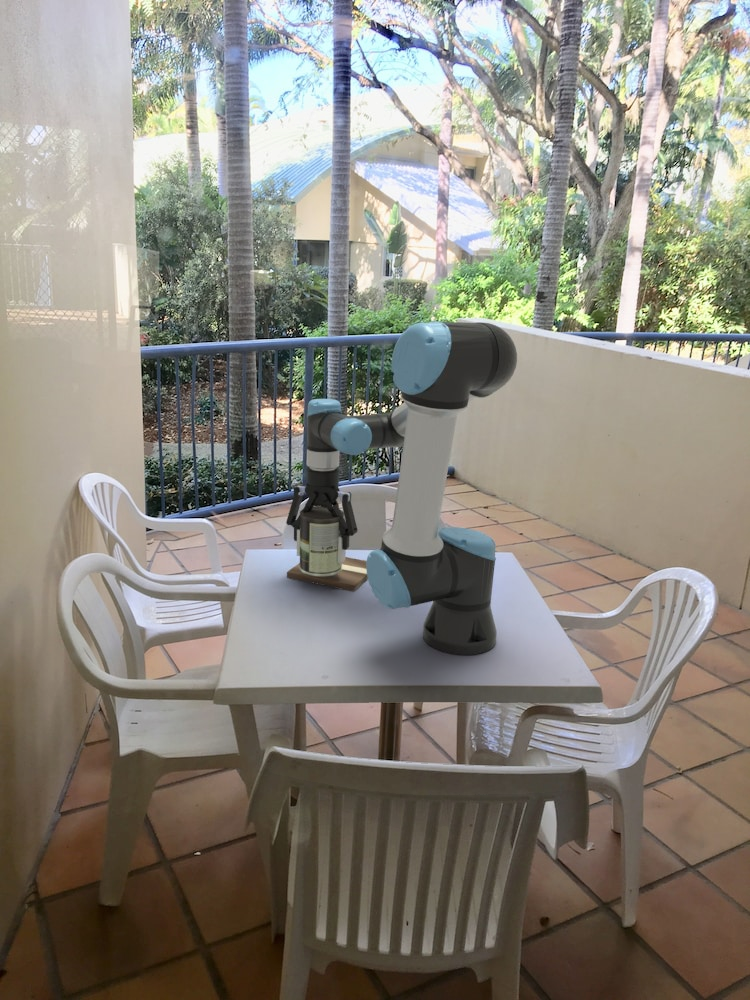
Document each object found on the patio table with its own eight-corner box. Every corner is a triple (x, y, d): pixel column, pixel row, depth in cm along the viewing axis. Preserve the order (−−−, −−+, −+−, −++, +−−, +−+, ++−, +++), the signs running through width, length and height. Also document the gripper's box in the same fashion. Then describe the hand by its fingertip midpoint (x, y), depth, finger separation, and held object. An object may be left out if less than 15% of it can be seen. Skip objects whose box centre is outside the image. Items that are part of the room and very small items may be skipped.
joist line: (366, 574, 181) (366, 573, 181) (301, 561, 188) (301, 561, 188) (371, 570, 184) (371, 569, 184) (306, 558, 190) (306, 557, 190)
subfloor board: (354, 591, 175) (354, 585, 175) (286, 577, 181) (286, 571, 181) (379, 568, 189) (379, 563, 189) (316, 556, 196) (316, 551, 195)
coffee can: (290, 570, 175) (290, 513, 171) (314, 557, 184) (315, 503, 180) (327, 580, 171) (328, 522, 167) (350, 566, 179) (352, 511, 175)
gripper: (374, 469, 170) (370, 560, 176) (286, 457, 177) (286, 545, 184) (362, 477, 163) (358, 571, 169) (271, 464, 171) (271, 554, 177)
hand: (320, 557), depth 177 cm, fingers closed on coffee can, 10 cm apart
